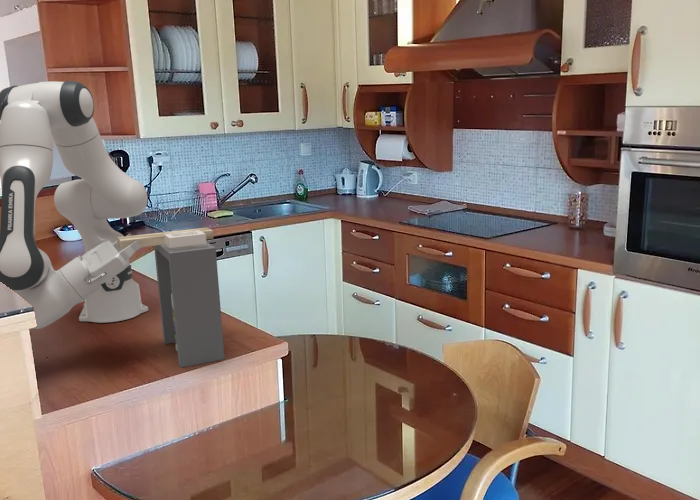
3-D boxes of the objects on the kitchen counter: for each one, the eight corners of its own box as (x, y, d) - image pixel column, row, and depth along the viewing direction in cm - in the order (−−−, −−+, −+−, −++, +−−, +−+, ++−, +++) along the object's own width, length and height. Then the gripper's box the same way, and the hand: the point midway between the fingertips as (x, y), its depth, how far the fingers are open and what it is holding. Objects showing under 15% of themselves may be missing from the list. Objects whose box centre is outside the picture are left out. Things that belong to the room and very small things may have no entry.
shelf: (163, 341, 165) (153, 239, 160) (203, 334, 170) (194, 234, 164) (180, 367, 148) (169, 253, 143) (224, 359, 152) (215, 247, 147)
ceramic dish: (165, 247, 150) (163, 234, 149) (200, 242, 153) (199, 230, 153) (170, 251, 145) (169, 238, 144) (206, 247, 148) (205, 233, 147)
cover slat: (118, 245, 154) (117, 237, 153) (208, 235, 162) (207, 227, 162) (121, 249, 149) (120, 240, 149) (213, 238, 158) (212, 230, 158)
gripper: (78, 274, 139) (134, 235, 142) (71, 257, 157) (121, 223, 160) (97, 297, 141) (151, 258, 145) (88, 278, 159) (137, 243, 163)
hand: (135, 240), depth 153 cm, fingers open, 8 cm apart
